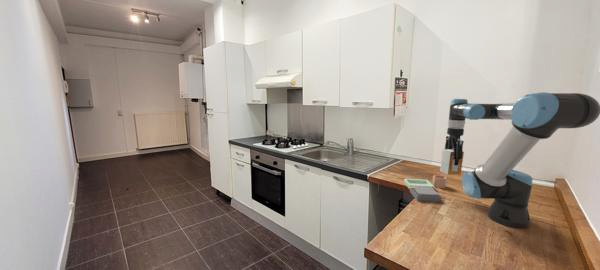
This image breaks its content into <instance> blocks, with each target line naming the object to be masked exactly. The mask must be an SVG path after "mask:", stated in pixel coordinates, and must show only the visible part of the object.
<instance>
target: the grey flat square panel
mask: <svg viewBox="0 0 600 270" xmlns="http://www.w3.org/2000/svg"><path fill="white" fill-rule="evenodd" d="M413 188H414V190H415V191H416V193H417V194H418V195H427V196H438V195H440V194H439V193H438V192H437V191H436V190H435V188H434V189H433V188H432V187H425V186H413Z"/></svg>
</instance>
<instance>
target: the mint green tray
mask: <svg viewBox="0 0 600 270" xmlns="http://www.w3.org/2000/svg"><path fill="white" fill-rule="evenodd" d="M403 184H404V185H405V184H406V185H405V186H406V187H407V188H408V190H410V187H413V186H425V187H432V188H433V189H434V190H435V187H434V186H433V185H432V183H431V182H430V181H429V180H428V179H420V178H419V179H418V178H417V179H416V178H415V179H414V178H404V179H403Z"/></svg>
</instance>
